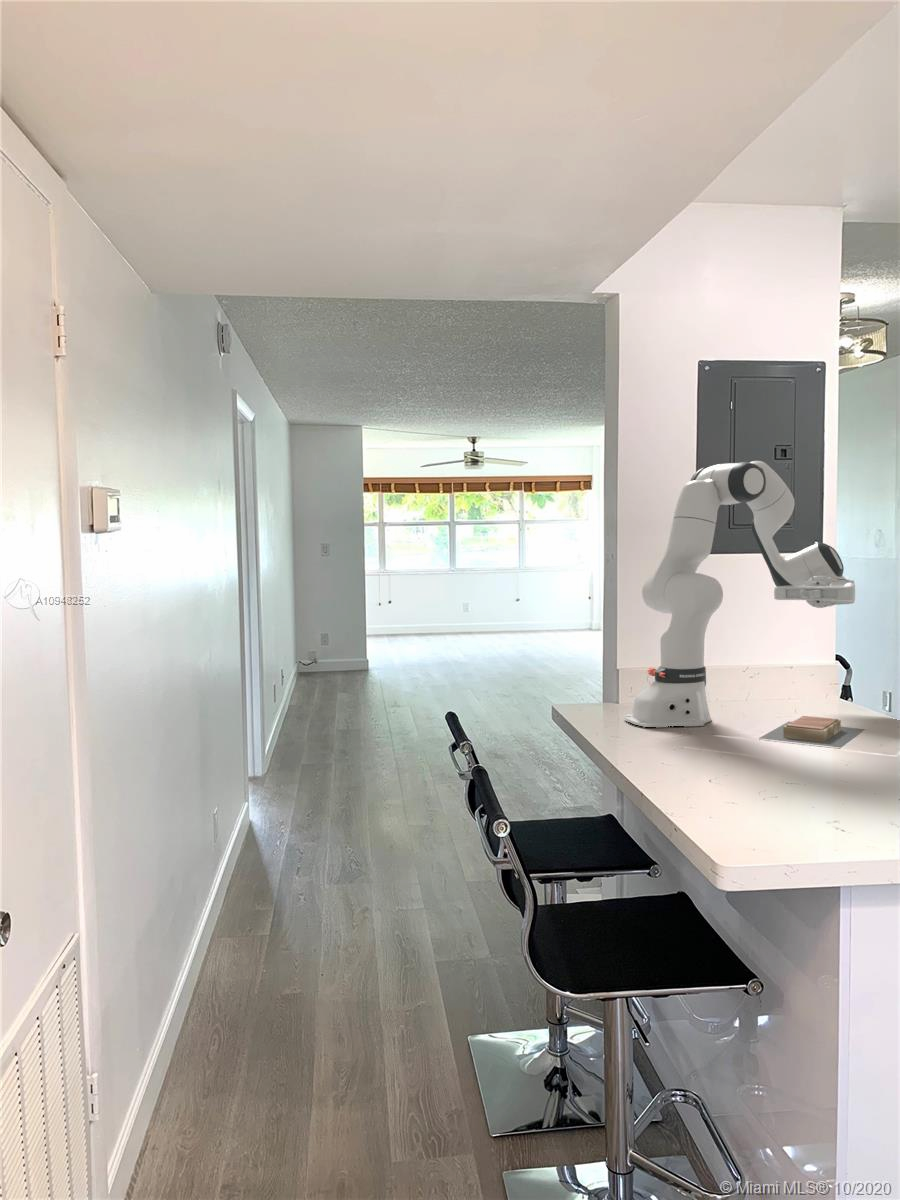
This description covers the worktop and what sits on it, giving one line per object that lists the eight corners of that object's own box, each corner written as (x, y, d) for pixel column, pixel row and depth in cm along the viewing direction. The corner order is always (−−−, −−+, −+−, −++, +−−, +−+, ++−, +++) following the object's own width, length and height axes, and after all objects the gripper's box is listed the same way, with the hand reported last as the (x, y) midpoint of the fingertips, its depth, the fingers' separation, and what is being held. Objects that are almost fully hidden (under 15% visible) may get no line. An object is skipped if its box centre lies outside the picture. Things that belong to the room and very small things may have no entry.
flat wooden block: (801, 715, 208) (783, 725, 197) (840, 718, 202) (823, 729, 191) (801, 726, 208) (783, 737, 197) (840, 730, 202) (824, 741, 191)
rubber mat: (788, 723, 214) (788, 721, 214) (865, 730, 203) (865, 729, 203) (758, 739, 197) (758, 738, 197) (840, 749, 186) (840, 747, 186)
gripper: (782, 580, 239) (765, 582, 228) (860, 580, 226) (846, 582, 215) (782, 602, 239) (766, 606, 228) (860, 603, 226) (847, 607, 215)
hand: (806, 594), depth 222 cm, fingers closed
